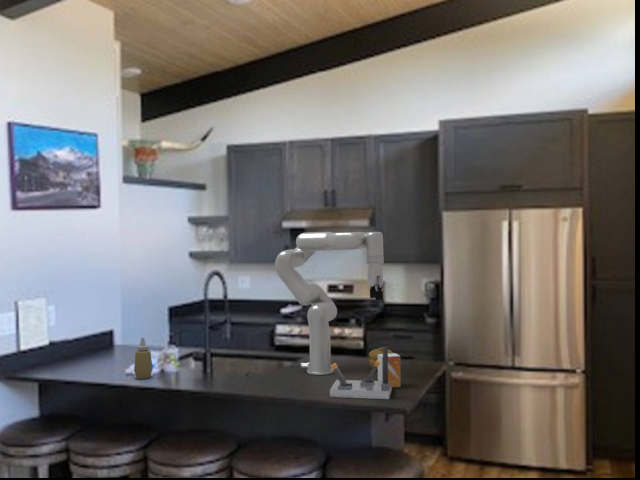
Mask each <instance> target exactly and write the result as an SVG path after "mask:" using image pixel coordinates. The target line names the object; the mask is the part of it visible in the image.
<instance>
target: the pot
mask: <svg viewBox="0 0 640 480" xmlns="http://www.w3.org/2000/svg"><path fill="white" fill-rule="evenodd" d="M392 353H394V352H393V351H392V350H391V349H388V354H392ZM378 354H383V347H379V348H375V349H372V350H370V352H369V353H368V357H369V360H368V363H369V365H370V367H371V368H373V367H374V365H375V363H376V361H377V360H378ZM376 371H378V368H377V370H376Z"/></svg>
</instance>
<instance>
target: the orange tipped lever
mask: <svg viewBox="0 0 640 480" xmlns="http://www.w3.org/2000/svg"><path fill="white" fill-rule="evenodd" d="M331 368H332V370H333V371H334V373H333V374H334V375H335V376H336V378H337V380H339V381H340V383H341V385H342V386H344V385H346V384H347V382H346V380H347V379H345V377H344V375H343V373H342V372H341V370H340V368H339V366H338V364H337V362H334V363H331Z"/></svg>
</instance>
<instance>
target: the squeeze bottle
mask: <svg viewBox="0 0 640 480" xmlns="http://www.w3.org/2000/svg"><path fill="white" fill-rule="evenodd" d="M133 368H134V369H133V371H134V375H135V377H136V379H139V380H146V379H149V378H151V376H152V372H153V361H152V354H151V350H149V345H147V344H146V341H145V338H144V337H141V338H140V342H139V345H138V346H137V350H136V351H135V356H134V367H133Z"/></svg>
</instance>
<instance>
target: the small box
mask: <svg viewBox="0 0 640 480" xmlns="http://www.w3.org/2000/svg"><path fill="white" fill-rule="evenodd" d="M378 361H380V362H381V363H380V365H379V367H378V370H377V381H383V354H378ZM388 381H392V388H401V387H402V386H401V385H402V384H401V383H402V382H401V355H400V354H398V353H394V352H393V353H392V354H388Z"/></svg>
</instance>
